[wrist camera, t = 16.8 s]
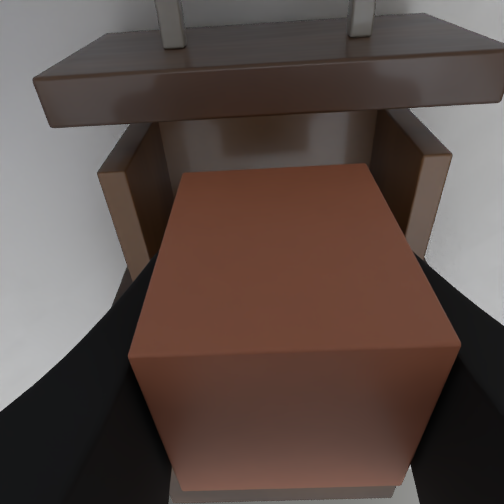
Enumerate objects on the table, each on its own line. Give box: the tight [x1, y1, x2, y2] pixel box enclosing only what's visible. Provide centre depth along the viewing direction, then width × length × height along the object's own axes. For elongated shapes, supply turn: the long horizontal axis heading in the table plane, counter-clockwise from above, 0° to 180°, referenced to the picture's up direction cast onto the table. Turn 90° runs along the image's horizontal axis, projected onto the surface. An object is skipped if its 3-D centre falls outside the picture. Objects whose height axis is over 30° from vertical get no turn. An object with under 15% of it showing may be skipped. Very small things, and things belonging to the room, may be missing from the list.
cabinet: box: [111, 258, 427, 503], centre depth 20 cm, size 14×12×8 cm
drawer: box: [33, 0, 504, 281], centre depth 13 cm, size 18×11×6 cm, turn 3°
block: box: [128, 163, 461, 491], centre depth 9 cm, size 4×4×6 cm
